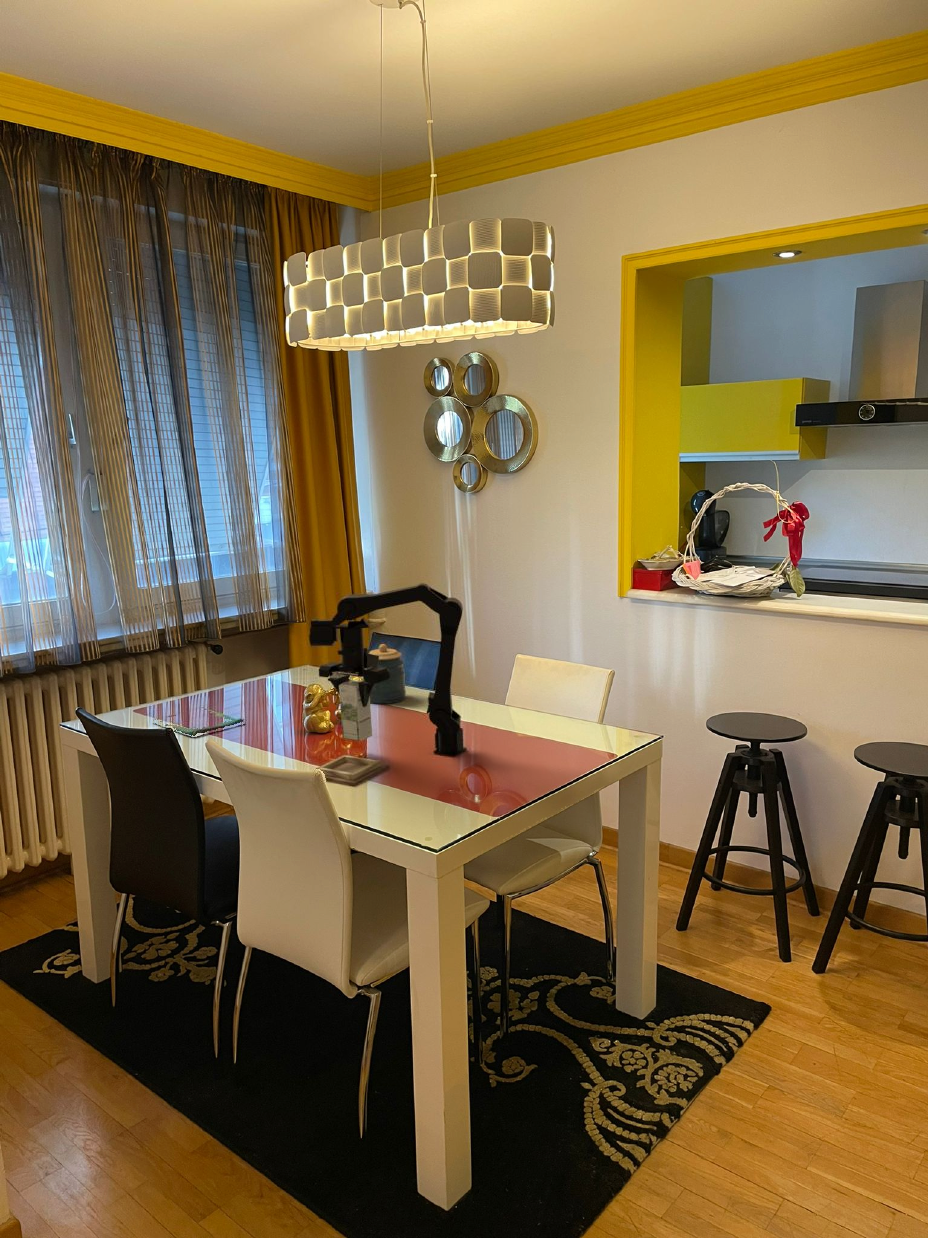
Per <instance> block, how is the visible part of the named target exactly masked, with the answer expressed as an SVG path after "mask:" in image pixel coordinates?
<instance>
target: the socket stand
mask: <svg viewBox="0 0 928 1238" xmlns="http://www.w3.org/2000/svg"><path fill="white" fill-rule="evenodd" d="M316 769H320V770H321V771H323V773H324V774H325V778H326V780H327V781H326V782H331V783H336V784H341V785H345V786H351V787H356V786H358V785H360V784H362V783H364V782H365V781H367V780H369V779H371V778H374V777H375V776H377V775H379V774H380V773H382V772H384V771H385V772H386V771H387V770H389V769H390V764H386V763H381V760H377V759H376V760H375V759H370V758H364V757H359V756H353V755H347V754H343V755H340V756H339V757H337V758H334V759H333V760H330V761H328V762H327V763H324V764H322V765H320V766H318V767H316V768H315V770H316Z"/></svg>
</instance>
